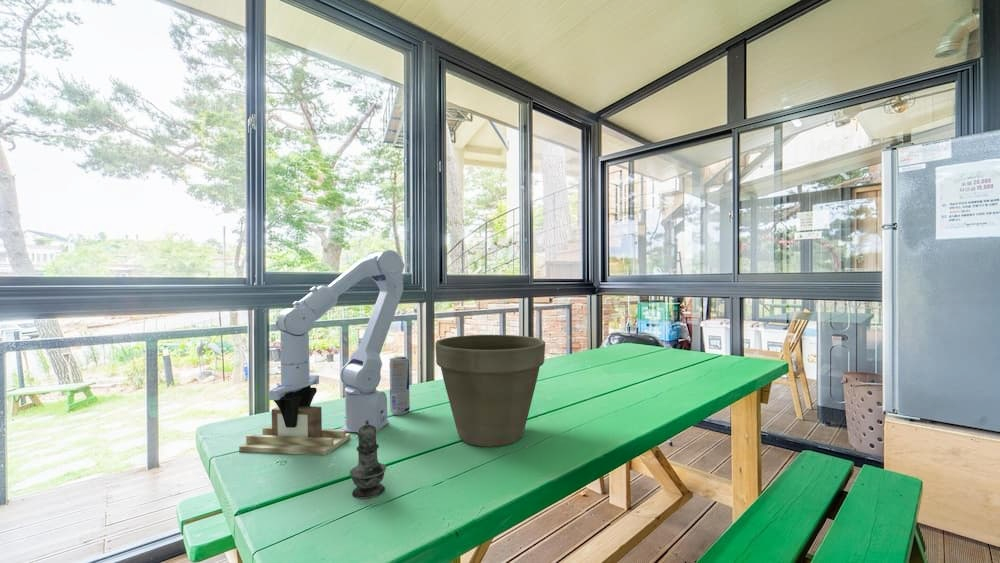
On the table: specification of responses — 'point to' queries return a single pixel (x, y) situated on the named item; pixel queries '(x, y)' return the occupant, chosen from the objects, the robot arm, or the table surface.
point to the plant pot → (490, 384)
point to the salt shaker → (367, 465)
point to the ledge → (295, 443)
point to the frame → (299, 423)
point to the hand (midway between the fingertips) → (296, 424)
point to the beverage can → (399, 385)
